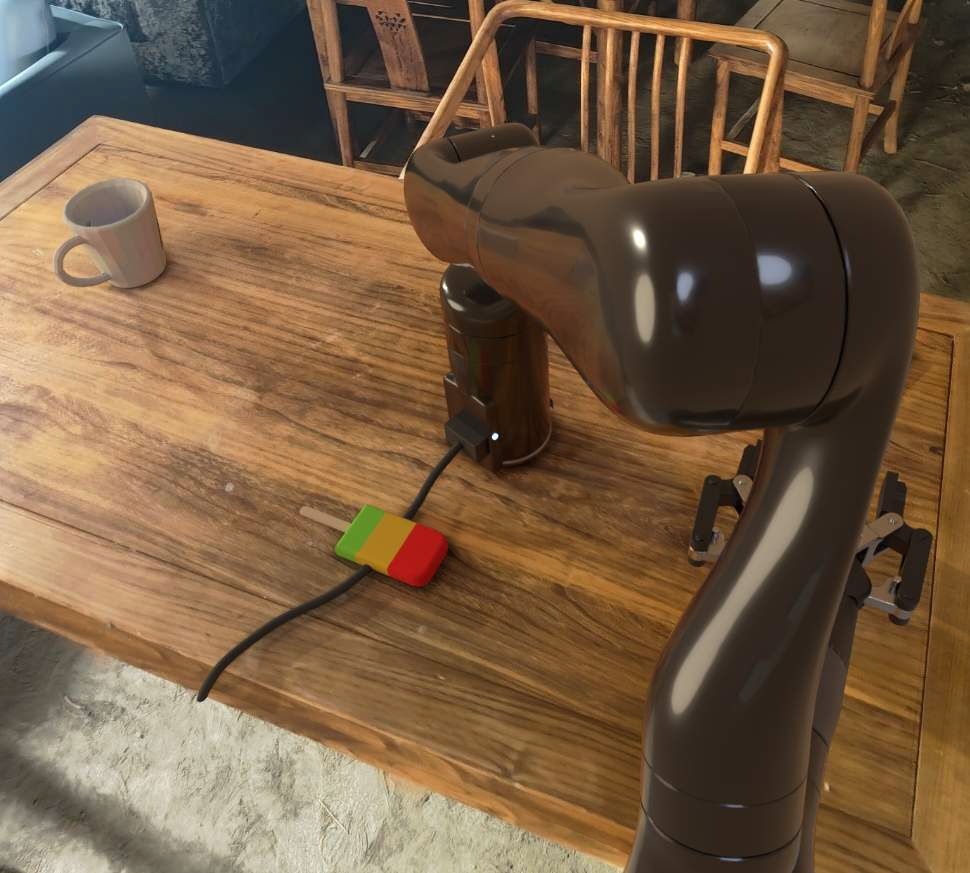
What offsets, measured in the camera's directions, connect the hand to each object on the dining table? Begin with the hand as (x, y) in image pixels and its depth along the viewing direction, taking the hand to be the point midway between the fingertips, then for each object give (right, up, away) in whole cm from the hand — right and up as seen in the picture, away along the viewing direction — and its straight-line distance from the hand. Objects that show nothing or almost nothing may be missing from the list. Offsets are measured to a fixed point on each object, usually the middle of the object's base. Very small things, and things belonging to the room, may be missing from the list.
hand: (823, 463), depth 63 cm
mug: (-68, +21, +52) cm, 88 cm away
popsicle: (-34, -8, +23) cm, 42 cm away
